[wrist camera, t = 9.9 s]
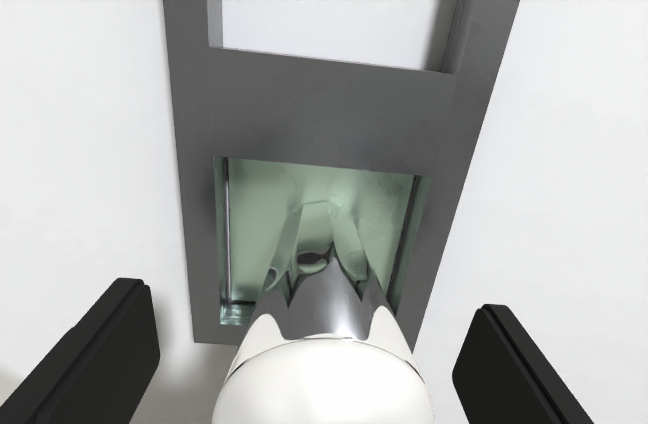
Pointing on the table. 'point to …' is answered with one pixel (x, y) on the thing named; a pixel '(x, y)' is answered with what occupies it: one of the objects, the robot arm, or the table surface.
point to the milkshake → (322, 337)
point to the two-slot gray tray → (321, 155)
